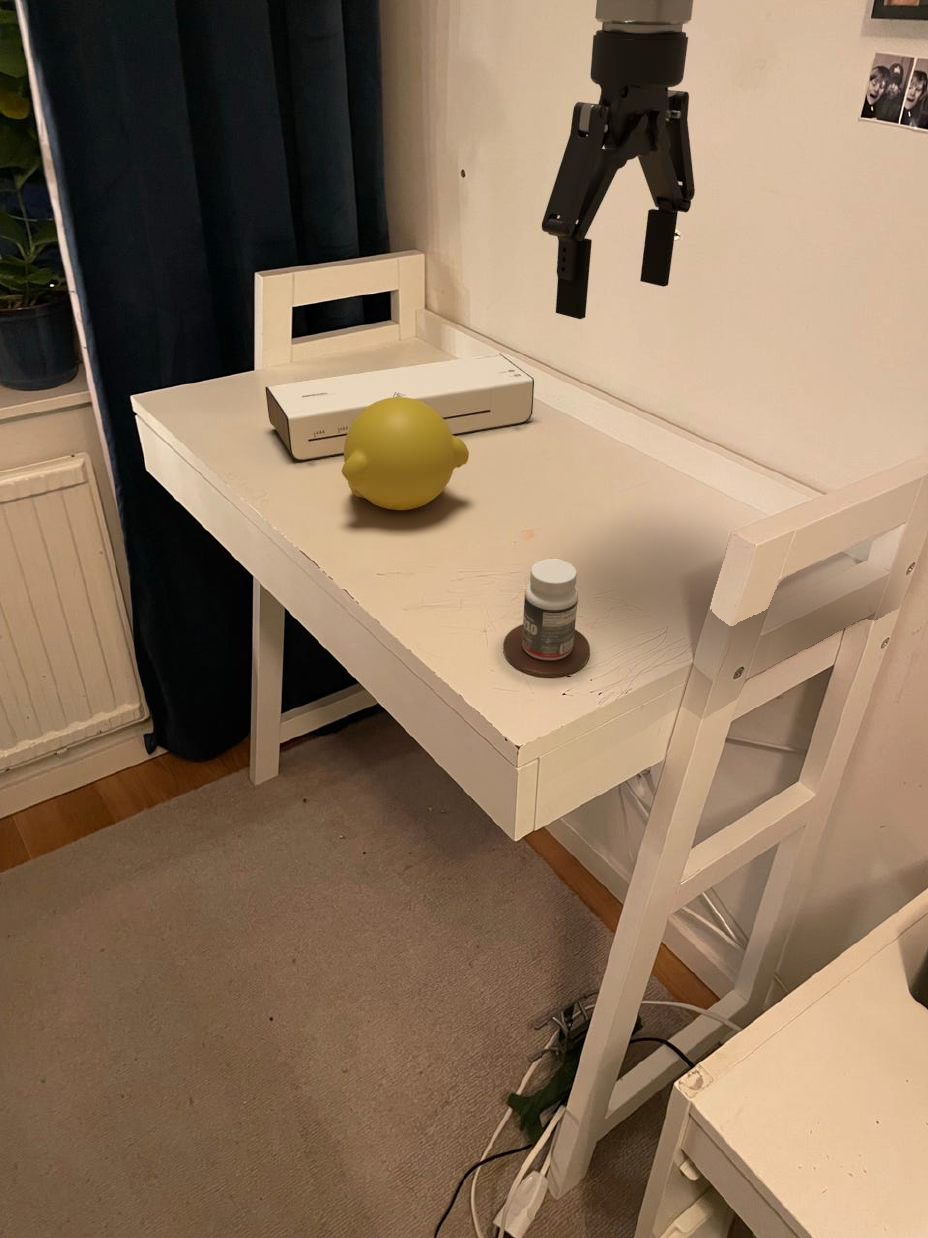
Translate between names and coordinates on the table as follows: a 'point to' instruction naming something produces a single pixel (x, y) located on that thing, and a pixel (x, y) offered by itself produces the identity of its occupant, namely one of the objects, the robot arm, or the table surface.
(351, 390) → the laminator
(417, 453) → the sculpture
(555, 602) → the pill bottle
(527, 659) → the coaster
